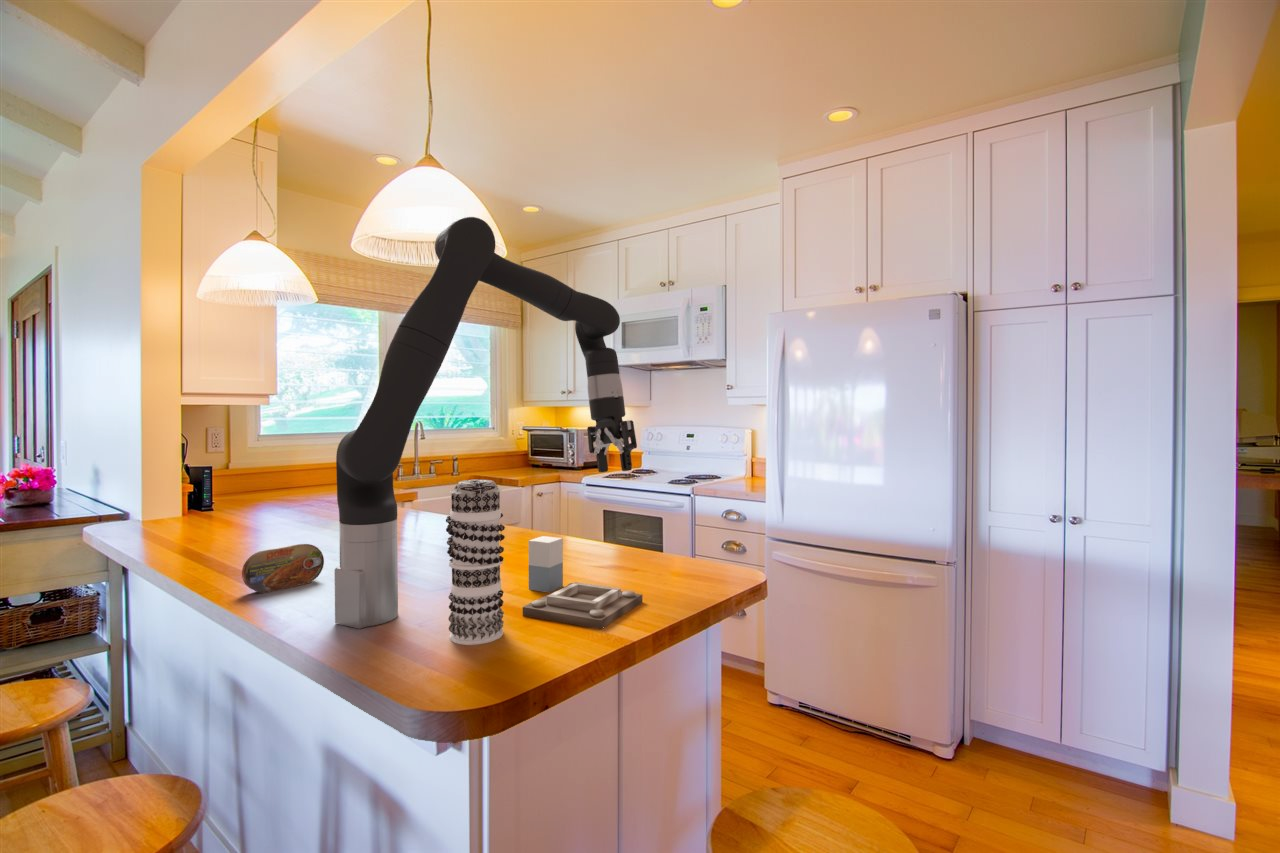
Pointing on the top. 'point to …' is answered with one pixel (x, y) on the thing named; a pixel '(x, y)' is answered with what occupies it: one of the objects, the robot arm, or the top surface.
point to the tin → (282, 567)
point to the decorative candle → (475, 563)
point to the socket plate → (584, 605)
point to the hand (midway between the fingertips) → (614, 471)
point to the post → (545, 563)
